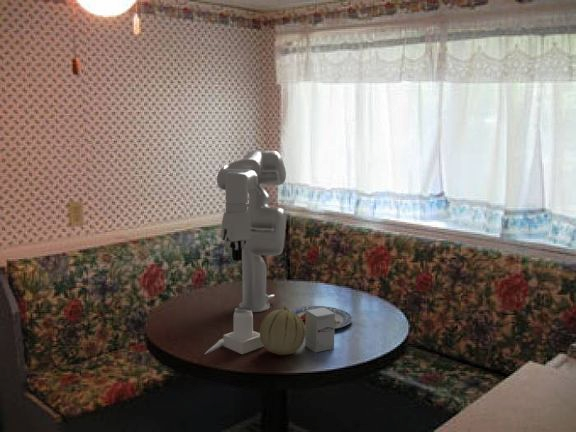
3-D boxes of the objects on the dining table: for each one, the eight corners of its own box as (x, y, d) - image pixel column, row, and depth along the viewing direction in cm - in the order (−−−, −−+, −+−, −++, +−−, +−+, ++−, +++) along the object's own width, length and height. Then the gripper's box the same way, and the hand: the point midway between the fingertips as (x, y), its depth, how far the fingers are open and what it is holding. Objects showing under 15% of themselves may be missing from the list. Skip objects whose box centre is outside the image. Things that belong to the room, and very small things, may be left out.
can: (250, 348, 190) (250, 313, 188) (231, 347, 191) (231, 312, 189) (254, 341, 196) (254, 307, 194) (236, 339, 197) (236, 306, 195)
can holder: (245, 338, 201) (245, 327, 200) (263, 346, 194) (263, 335, 193) (223, 346, 194) (223, 334, 193) (242, 354, 187) (242, 342, 186)
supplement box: (315, 353, 188) (316, 316, 186) (304, 345, 195) (304, 309, 193) (334, 349, 192) (335, 313, 190) (323, 341, 198) (323, 306, 196)
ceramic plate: (269, 322, 217) (269, 315, 217) (313, 306, 236) (313, 299, 235) (322, 340, 200) (322, 332, 199) (365, 322, 218) (365, 314, 218)
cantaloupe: (259, 363, 181) (259, 317, 178) (259, 344, 195) (259, 302, 193) (306, 362, 181) (307, 316, 179) (303, 344, 196) (303, 301, 193)
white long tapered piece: (227, 338, 201) (227, 333, 200) (233, 340, 199) (233, 335, 199) (201, 355, 188) (201, 350, 187) (207, 357, 186) (207, 352, 186)
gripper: (246, 204, 205) (246, 255, 208) (212, 209, 194) (213, 262, 197) (260, 206, 199) (260, 258, 202) (226, 211, 189) (227, 266, 192)
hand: (237, 260), depth 200 cm, fingers closed
